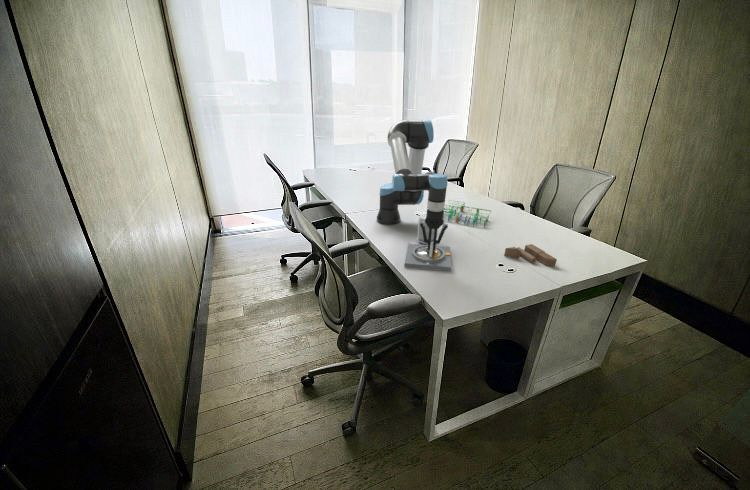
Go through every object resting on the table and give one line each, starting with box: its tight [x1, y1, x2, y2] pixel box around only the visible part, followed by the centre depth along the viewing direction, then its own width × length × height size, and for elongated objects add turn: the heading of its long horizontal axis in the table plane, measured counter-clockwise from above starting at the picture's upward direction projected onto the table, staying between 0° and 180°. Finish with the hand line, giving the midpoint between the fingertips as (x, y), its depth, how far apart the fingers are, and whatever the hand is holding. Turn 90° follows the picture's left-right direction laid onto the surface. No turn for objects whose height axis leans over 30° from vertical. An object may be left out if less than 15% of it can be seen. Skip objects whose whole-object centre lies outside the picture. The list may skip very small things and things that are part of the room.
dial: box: [416, 246, 441, 260], centre depth 164 cm, size 15×12×6 cm
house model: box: [443, 199, 492, 227], centre depth 221 cm, size 35×30×5 cm
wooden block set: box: [503, 244, 558, 267], centre depth 165 cm, size 17×6×18 cm
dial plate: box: [403, 243, 452, 272], centre depth 166 cm, size 22×22×3 cm
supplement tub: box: [417, 213, 435, 245], centre depth 182 cm, size 10×10×15 cm
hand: (430, 255), depth 159 cm, fingers closed
